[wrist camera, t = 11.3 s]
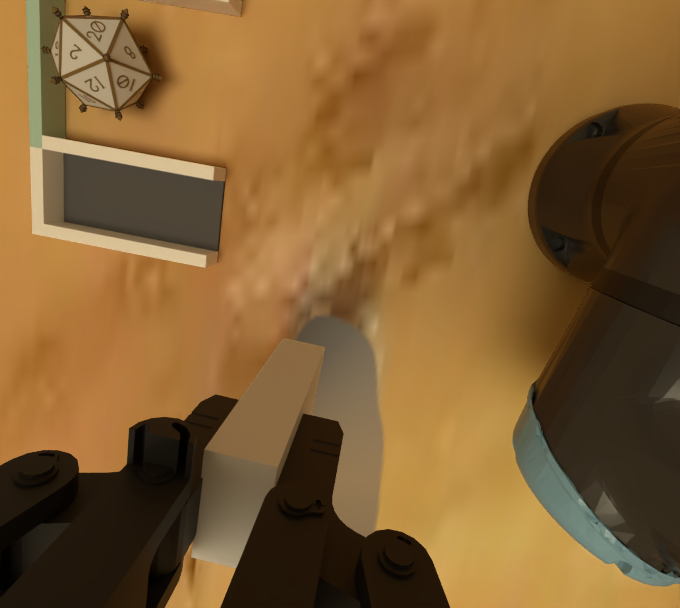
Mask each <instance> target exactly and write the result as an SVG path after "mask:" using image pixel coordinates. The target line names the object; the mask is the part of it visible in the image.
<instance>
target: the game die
mask: <svg viewBox="0 0 680 608" xmlns="http://www.w3.org/2000/svg"><path fill="white" fill-rule="evenodd" d="M51 8H52V11H53V12H52V13H53V14H55V16H56V17H58V18H59V19H60V20H59V23H58V27H57V30H56V33H55V37H54V40H53V43H52V46H51V49H50V48H48V47H45V46H43V47H41V48H40V49H41V50H42V51H43V52H44V53H47V54H49V53H51V55H52V58H53V61H54V64H55V67H56V70H57V74H58V77H56V76H54V77H51V80H50V83H53V84H56V85H57V83H58V84H59V83H60V81H62V83H63V84H64V85H65V86H66V87H67V88H68V89H69V90H70V91H71V92H72V93H73V94H74V95H75V96H76V97H77V98H78V99H79V100H80V101H81V102H82V105H80V107H79V108H80V111H81V113H82V112H86V109H87V106H91V107H96V108H101V109H106V110H111V111H115V115H116V117H115V118H117V119H118V120H120V121H121V119H122V114H121V113H120V110H122V109H124V108H126V107H128V106H130V105H132V104H135V103H136V106H138V108H141V109H143V104H141V102H139V101H138V100H139V99H140V97H141V96H142V94H143V92H144V91H145V89H146V88H147V86H148V85H149V83H150V82H151V80H152V78H154V79H155V80H158V81H160V80H162V79H163V78H162V77H161V76H160V74H153V73H152V71H151V69H150V67H149V65H148V63H147V61H146V59H145V57H144V55H143V53H147V49H148V48H146V47H144V46H142V47H140V48H139V46H138V44H137V42H136V40H135V38H134V37H133V35H132V33H131V31H130V29H129V27H128V25H127V24H126V22H125V19H126V18H128V16H129V15H128V9H125V10H122V13H121V17H107V16H93V15H90V14H91V12H90V9H88V8H87V7H86V6H85V7H84V9H82V10H83V11H84V14H85V15H76V16H63V15H62V13H61V11H59V9H58V8H55V7H53V6H51Z"/></svg>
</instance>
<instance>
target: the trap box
mask: <svg viewBox="0 0 680 608" xmlns="http://www.w3.org/2000/svg"><path fill="white" fill-rule="evenodd" d="M141 1H147V2H153V3H159V4H166V5H172V6H178V7H184V8H190V9H196V10H202V11H208V12H214V13H221V14H227V15H233V16H239V17H241V9H242V0H141ZM51 6H53V7H55V8H58V9H59V11H61V13H62V15H63V16H65V0H26V16H27V53H28V89H29V126H30V163H31V199H32V234H36V235H41V236H47V237H52V238H57V239H62V240H67V241H72V242H77V243H82V244H87V245H92V246H97V247H102V248H108V249H113V250H118V251H123V252H128V253H133V254H138V255H143V256H148V257H153V258H158V259H163V260H169V261H174V262H179V263H184V264H189V265H194V266H199V267H204V268H206V267H208V266H211V265H213V264H215V263H217V260H218V252H217V251H211V250H206V249H201V248H196V247H191V246H186V245H181V244H175V243H170V242H165V241H160V240H155V239H150V238H145V237H139V236H134V235H129V234H124V233H119V232H114V231H109V230H103V229H98V228H93V227H88V226H83V225H78V224H73V223H67V222H64V162H63V153H68V154H73V155H79V156H84V157H89V158H95V159H100V160H105V161H111V162H116V163H122V164H127V165H132V166H138V167H143V168H149V169H154V170H159V171H165V172H170V173H176V174H181V175H186V176H192V177H197V178H203V179H208V180H214V181H225V176H226V168H221V167H216V166H210V165H205V164H199V163H194V162H188V161H183V160H178V159H172V158H167V157H161V156H156V155H150V154H145V153H139V152H134V151H129V150H123V149H118V148H112V147H107V146H101V145H96V144H90V143H85V142H79V141H74V140H69V139H66V128H65V85H64V84H63V83H62V81H60V83H59V84H58V83H57V85H56V84H53V83H50V80H51V77H54V76H56V77H58V74H57V70H56V67H55V64H54V61H53V58H52V55H51V53H49V54H47V53H44V52H43V51H42V50H41V49H40V48H41V47H43V46H45V47H48V48H50V49H51V46H52V43H53V40H54V37H55V33H56V30H57V27H58V23H59V20H60V19H59V18H58V17H56V16H55V14H53V13H52V12H53V11H52V8H51Z"/></svg>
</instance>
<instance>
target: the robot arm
mask: <svg viewBox="0 0 680 608" xmlns="http://www.w3.org/2000/svg"><path fill="white" fill-rule="evenodd" d="M528 217H529V223H530V228H531V231H532V234H533V237H534V239H535V241H536V243H537V245H538V247H539V248H540V250H541V251H542V252H543V254H544V255H545V256H546V257H547V258H548V259H549V260H550V261H551V262H552V263H553V264H554V265H555V266H557V267H558V268H560V269H561V270H563V271H565V272H567V273H569V274H571V275H573V276H575V277H577V278H580V279H582V280H585V281H588V282H592V283H593V284H592V286H591V287H590V289H589V290H588V292H587V294H586V296H585V298H584V299H583V301H582V303H581V305H580V307H579V308H578V310H577V312H576V314H575V316H574V317H573V319H572V321H571V323H570V324H569V326H568V328H567V330H566V331H565V333H564V335H563V337H562V338H561V340H560V342H559V343H558V345H557V347H556V349H555V350H554V352H553V354H552V356H551V357H550V359H549V361H548V363H547V364H546V366H545V368H544V370H543V371H542V373H541V375H540V377H539V378H538V379H537V380H536V381H535V382H534V383H533V384H532V386H531V387H530V390H529V393H528V397H527V398H528V401H527V403H526V405H525V407H524V409H523V411H522V413H521V415H520V417H519V419H518V421H517V423H516V425H515V428H514V432H513V446H514V450H515V454H516V461H517V464H518V467H519V469H520V471H521V473H522V475H523V477H524V479H525V481H526V483H527V484H528V486H529V488H530V489H531V491H532V492H533V494H534V495H535V496H536V498H537V499H538V500H539V502H540V503H541V504H542V506H543V507H544V508H545V509H546V510H547V512H548V513H549V514H550V515H551V516H552V517H553V518H554V519H555V521H556V522H557V523H558V524H559V525H560V526H561V527H562V528H563V529H564V530H565V531H566V532H567V533H568V534H569V535H570V536H571V537H573V538H574V539H575V540H576V541H577V542H578V543H579V544H581V545H582V546H583V547H584V548H585V549H587V550H588V551H589V552H590V553H592V554H593V555H595V556H596V557H597V558H599V559H600V560H602V561H603V562H604V563H606V564H612V563H615V564H616V565H617V566H618V568H619V569H620V570H621V571H622V573H623V574H624V575H626V576H628V577H630V578H632V579H634V580H637V581H639V582H642V583H644V584H648V585H652V586H670V585H672V584H680V109H678V108H674V107H671V106H666V105H661V104H633V105H627V106H622V107H618V108H614V109H611V110H608V111H605V112H603V113H600V114H597V115H595V116H592V117H590V118H588V119H586V120H584V121H582V122H581V123H579V124H577V125H576V126H574V127H573V128H571V129H570V130H569V131H567V132H566V133H565V134H564V135H563V136H562V137H560V138H559V139H558V140H557V141H556V142H555V144H554V145H553V146H552V147H551V148H550V150H549V151H548V152H547V153H546V155H545V156H544V158H543V159H542V161H541V163H540V165H539V167H538V169H537V171H536V173H535V175H534V178H533V181H532V184H531V188H530V193H529V200H528ZM324 350H325V347H321V346H317V345H313V344H308V343H304V342H299V341H295V340H290V339H286V338H283V339H282V340H281V341H280V343H279V344H278V346H277V347H276V349H275V350H274V351H273V353H272V354H271V356H270V357H269V358H268V360H267V361H266V363H265V364H264V366H263V367H262V368H261V370H260V371H259V373H258V374H257V375H256V377H255V378H254V380H253V381H252V383H251V384H250V385H249V387H248V388H247V390H246V391H245V392H244V394H243V395H242V397H241V398H240V400H237V399H233V398H228V397H224V396H220V395H214V396H212V397H210V398H208V399H206V400H204V401H202V402H200V403H199V405H198V406H197V407H196V408H195V409H194V410H193V411H192V414H190V415H189V416H188V417H187V418H186V419H185V420H184V421H183V420H180V419H178V418H169V417H160V418H151V419H148V420H144V421H141V422H139V423H137V424H135V425H134V426H132V427H131V428H129V440H128V456H127V465H126V466H125V467H124V468H123V469H122V470H121V471H120V472H110V473H79V466H78V461H77V459H76V458H75V457H73V456H72V455H71V454H69V453H66V452H62V451H59V450H42V451H37V452H32V453H27V454H25V455H22V456H19V457H17V458H14V459H12V460H10V461H8V462H6V463H4V464H2V465H0V608H165V606H166V604H167V602H168V600H169V598H170V597H171V595H172V593H173V591H174V589H175V587H176V585H177V583H178V581H179V579H180V575H181V572H182V567H183V558H184V555H185V553H186V552H187V550H188V548H189V546H190V544H191V543H192V541H193V548H192V557H193V558H196V559H200V560H204V561H208V562H212V563H216V564H220V565H224V566H228V567H232V568H236V570H235V573H234V575H233V578H232V580H231V583H230V585H229V588H228V590H227V593H226V595H225V598H224V600H223V603H222V605H221V608H450V606H449V603H448V601H447V598H446V595H445V593H444V590H443V588H442V585H441V582H440V580H439V577H438V574H437V572H436V569H435V566H434V564H433V561H432V559H431V558H430V556H429V554H428V553H427V551H426V549H425V548H424V547H423V546H422V545H421V544H420V543H419V542H418V541H416V540H415V539H414V538H412V537H410V536H408V535H407V534H405V533H403V532H399V531H395V530H390V529H386V530H378V531H375V532H374V533H372V534H370V535H369V536H367V537H364V536H362V535H360V534H358V533H356V532H355V531H353V530H352V529H350V528H349V527H347V526H346V525H345V524H344V523H343V522H342V521H341V520H340V519H339V518H338V516H337V514H336V513H335V511H334V508H333V505H332V495H333V489H334V484H335V478H336V473H337V466H338V461H339V455H340V450H341V445H342V439H343V431H342V429H341V427H340V425H339V423H338V421H334V420H329V419H325V418H321V417H316V416H312V411H313V406H314V401H315V396H316V391H317V386H318V381H319V376H320V370H321V365H322V361H323V355H324ZM193 539H194V540H193Z"/></svg>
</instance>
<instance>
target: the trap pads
mask: <svg viewBox="0 0 680 608" xmlns="http://www.w3.org/2000/svg"><path fill="white" fill-rule="evenodd" d="M63 162H64V222H67V223H73V224H78V225H83V226H88V227H93V228H98V229H103V230H109V231H114V232H119V233H124V234H129V235H134V236H139V237H145V238H150V239H155V240H160V241H165V242H170V243H175V244H181V245H186V246H191V247H196V248H201V249H206V250H211V251H217V252H218V250H219V239H220V229H221V218H222V208H223V197H224V187H225V181H214V180H208V179H203V178H197V177H192V176H186V175H181V174H176V173H170V172H165V171H159V170H154V169H149V168H143V167H138V166H132V165H127V164H122V163H116V162H111V161H105V160H100V159H95V158H89V157H84V156H79V155H73V154H68V153H63Z"/></svg>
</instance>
